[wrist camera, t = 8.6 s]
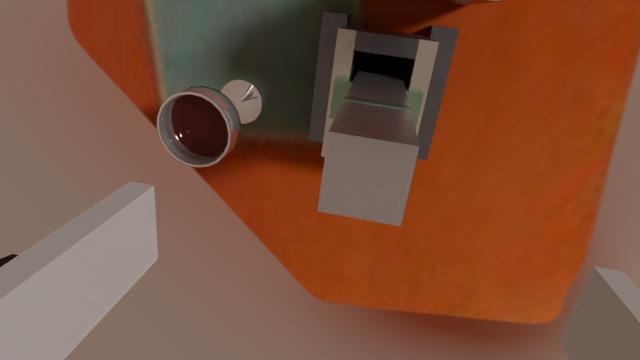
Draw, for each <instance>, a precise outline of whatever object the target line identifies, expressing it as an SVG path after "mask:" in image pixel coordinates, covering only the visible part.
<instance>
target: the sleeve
mask: <svg viewBox="0 0 640 360" xmlns="http://www.w3.org/2000/svg"><path fill="white" fill-rule="evenodd" d="M349 15H350V14H344V13H336V12H329V11H323V15H322V24H321V32H320V41H319V50H318V58H317V67H316V76H315V84H314V93H313V101H312V110H311V119H310V127H309V136H308V140H310V141H316V142H322V143H323V146H322V153H321V157H325V152H326V145H327V137H328V131H329V129H330V127H331V125H332V123H333V121H334V119H330V118H329V117H330V110H331V102H332V95H333V88H334V80H335V79H336V78H341V79H348V80H354V79H355V75H356V68H357V62H358V55H359V51H361V52H368V53H375V54H382V55H389V56H396V57H403V58H408V61H407V66H406V71H405V75H404V84H405V88H407V89H414V90H420V91H423V93H424V95H423V100H422V104H421V109H420V113H419V117H418V122H417V126H416V134H417V138H418V142H419V151H418V155H417V158H418V159H424V160H427V156H428V152H429V148H430V144H431V140H432V136H433V132H434V128H435V124H436V120H437V116H438V112H439V108H440V104H441V100H442V96H443V92H444V88H445V84H446V80H447V75H448V71H449V67H450V63H451V59H452V55H453V51H454V47H455V43H456V39H457V35H458V31H459V29H454V28H447V27H439V26H432V25H431V26H430V30H429V35H428V36H424V35H417V34H409V33H402V32H395V31H388V30H380V29H373V28H366V27H359V26H352V25H348V22H349Z"/></svg>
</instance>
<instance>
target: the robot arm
mask: <svg viewBox="0 0 640 360" xmlns="http://www.w3.org/2000/svg"><path fill="white" fill-rule="evenodd" d="M154 195H155V194H154V185H149V184H144V183H138V182H133V181H130V182H129V183H127V184H126V185H125V186H123V187H121V188H120V189H119V190H117V191H115V192H114V193H112V194H111V195H109V196H108V197H106V198H105V199H103V200H102V201H100V202H99V203H97V204H96V205H94V206H93V207H91V208H90V209H88V210H86V211H85V212H84V213H82V214H80V215H79V216H77V217H76V218H74V219H73V220H71V221H70V222H68V223H67V224H65V225H64V226H62V227H61V228H59V229H58V230H56V231H55V232H53V233H52V234H50V235H49V236H47V237H46V238H44V239H43V240H41V241H39V242H38V243H36V244H35V245H33V246H32V247H31V248H29V249H27V250H26V251H24V252H23V253H21V254H20V255H14V254H12V255H10V256H7V257H4V258H2V259H0V360H64V359H65V358H66V357H67V356H68V354H69V353H70V352H71V351H72V350H73V349H74V348H75V347H76V346H77V345H78V344H79V343H80V342H81V340H83V338H84V337H85V336H86V335H87V334H88V333H89V332H90V331H91V330H92V329H93V328H94V327H95V326H96V324H97V323H98V322H99V321H100V320H101V319H102V318H103V317H104V316H105V315H106V314H107V313H108V312H109V311H110V309H111V308H112V307H113V306H114V305H115V304H116V303H117V302H118V301H119V300H120V299H121V298H122V296H123V295H124V294H125V293H126V292H127V291H128V290H129V289H130V288H131V287H132V286H133V285H134V284H135V283H136V282H137V280H138V279H139V278H140V277H141V276H142V275H143V274H144V273H145V272H146V271H147V270H148V269H149V268H150V266H151V265H152V264H153V263H154V262H155V261H156V260H157V259H158V254H157V253H158V252H157V233H156V214H155V196H154ZM559 342H560V343H561V345H562V347H563V349H564V351H565V353H566V355H567V357H568V359H569V360H640V290H639V289H638V288H637V287H636V286H635V285H634V284H633V283H632V281H631V280H630V279H629V278H628V277H627V276H626V275H625V274H624V273H623V272H621V271H615V270H610V269H604V268H599V267H594V268H593V270H592V272H591V274H590V276H589V278H588V280H587V282H586V285H585V287H584V289H583V291H582V293H581V295H580V297H579V299H578V301H577V303H576V305H575V307H574V309H573V311H572V313H571V315H570V317H569V319H568V322H567V324H566V326H565V328H564V330H563V332H562V334H561V336H560V338H559Z"/></svg>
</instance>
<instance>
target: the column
mask: <svg viewBox="0 0 640 360" xmlns="http://www.w3.org/2000/svg"><path fill="white" fill-rule="evenodd" d="M423 95H424V93H423V91H420V90H414V89H407V88H405V84H404V80H403V78H402V77H396V76H389V75H382V74H376V73H369V72H362V71H358V73H357V75H356V77H355V79H354V80H348V79H341V78H336V79H335V80H334V88H333V95H332V102H331V110H330V117H329V118H330V119H334V121H333V123H332V125H331V127H330V129H329V131H328V137H327V145H326V152H325V159H324V167H323V174H322V181H321V189H320V196H319V203H318V211H320V212H325V213H331V214H336V215H342V216H347V217H353V218H358V219H364V220H369V221H374V222H380V223H385V224H391V225H396V226H401V223H402V218H403V214H404V210H405V206H406V201H407V197H408V193H409V189H410V185H411V180H412V176H413V172H414V168H415V163H416V159H417V155H418V151H419V142H418V138H417V134H416V126H417V122H418V117H419V113H420V109H421V104H422V100H423Z"/></svg>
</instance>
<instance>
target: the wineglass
mask: <svg viewBox="0 0 640 360" xmlns="http://www.w3.org/2000/svg"><path fill="white" fill-rule="evenodd" d="M261 108H262V100H261V96H260V94H259V92H258V90H257V89H256V88H255V87H254V86H253V85H252V84H251V83H249V82H247V81H244V80H232V81H231V82H229V83H227V84H226V85H225V86H224V87H223V88H222V91H221V92H219V91H217V90H216V89H213V88H209V87H204V86H197V87H190V88H188V89H186V90H184V91H182V92H180V93H177V94H175V95H173V96H171V97H169V98H168V99H167V100H166V101H165V102H164V103H163V104H162V106H161V107H160V110H159V113H158V116H157V130H158V134H159V137H160V140H161V142H162V144H163V145H164V147H165V148H166V150H167V151H168V152H169V153H170V154H171V155H172V156H173V157H174V158H175V159H177V160H179V161H180V162H182V163H184V164H186V165H189V166H193V167H208V166H211V165H213V164H215V163H217V162H219V161H220V160H221V159H222V158H223V157H224V156H226V155H228V154H229V153H230V152H231V151H232V150H233V149H234V147H235V145H236V143H237V141H238V139H239V137H240V133H241V124H244V123H250V122H252V121H254V120H255V119H256V118H257V117H258V116H259V114H260V112H261Z"/></svg>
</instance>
